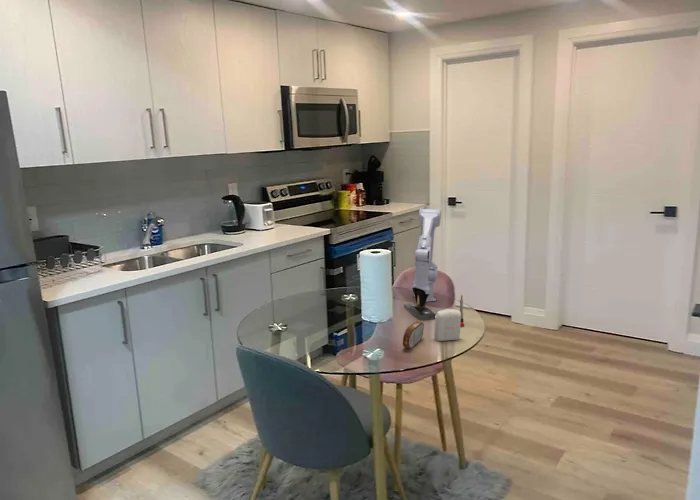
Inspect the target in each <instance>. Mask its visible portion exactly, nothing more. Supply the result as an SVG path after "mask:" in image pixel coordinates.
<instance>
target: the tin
mask: <svg viewBox="0 0 700 500" xmlns="http://www.w3.org/2000/svg"><path fill="white" fill-rule="evenodd" d="M424 324H425V323H424V322H422V321H420V320H419V321H418V320H415V321H414V322H412V323H411V324H410V325H409V326H408V327H406V329H405V331H404V333H403V337H402V347H403V348H406V349H413V348H414V347H415V346H417V344H418V343H419V342H420V341H421V340H422V339H423V335H424V328H425V325H424ZM413 346H414V347H413Z"/></svg>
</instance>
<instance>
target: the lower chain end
mask: <svg viewBox="0 0 700 500" xmlns="http://www.w3.org/2000/svg"><path fill="white" fill-rule="evenodd" d="M412 306H417V303H416V302H414V303H405V304H403V307H404V308H405V309H406V310H407V311H408V312H409V313H411V314H412V315H413V316H414V317H416V314H415V313H414V312H413V311H412V310H410V307H412ZM417 310H423V309H417Z"/></svg>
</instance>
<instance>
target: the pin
mask: <svg viewBox="0 0 700 500" xmlns="http://www.w3.org/2000/svg"><path fill="white" fill-rule="evenodd" d="M417 308H418V309H424V306H420V305H419V296H418V298H417Z"/></svg>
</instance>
